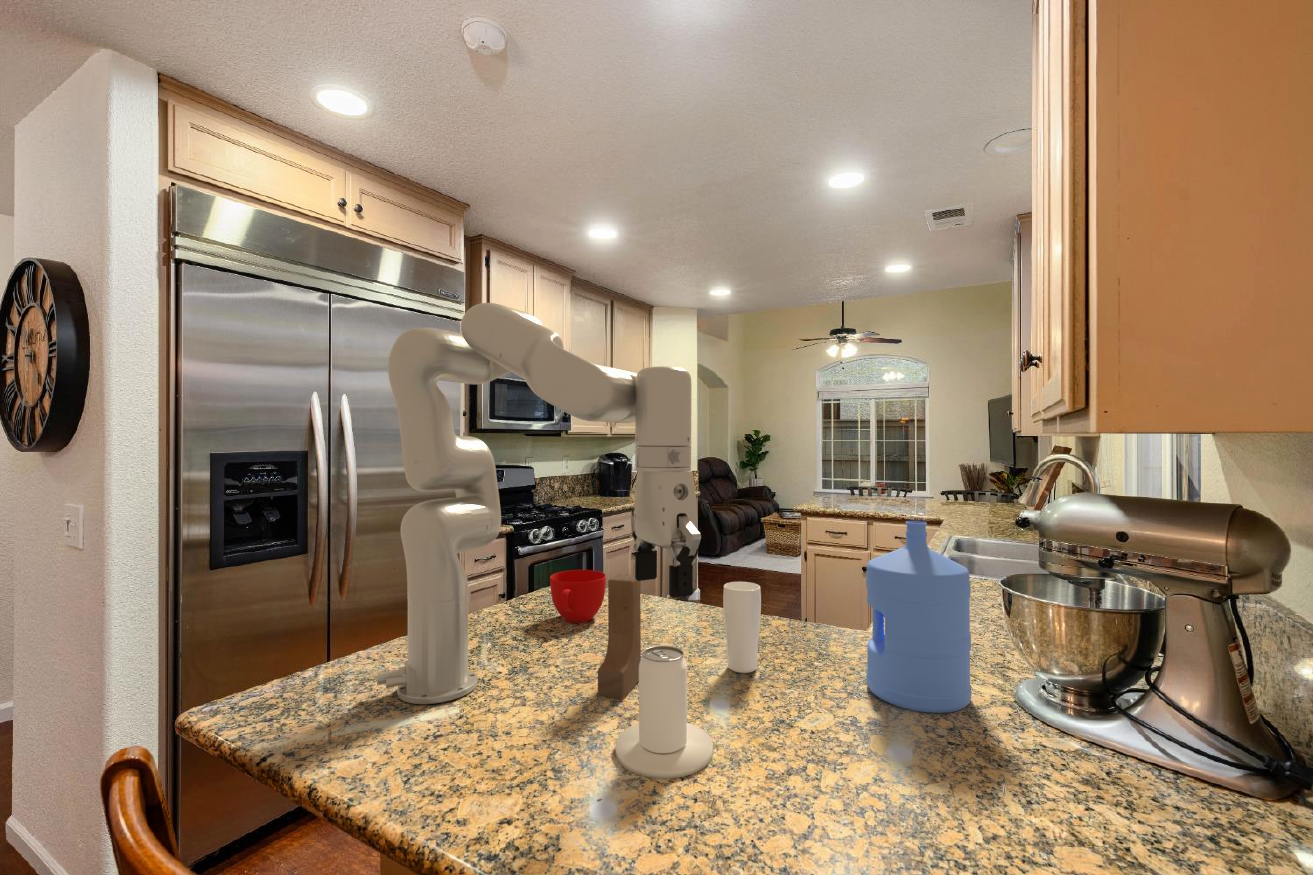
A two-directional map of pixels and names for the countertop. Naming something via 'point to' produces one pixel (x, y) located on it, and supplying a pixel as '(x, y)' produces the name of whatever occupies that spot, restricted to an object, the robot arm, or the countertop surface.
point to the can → (662, 700)
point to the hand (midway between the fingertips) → (662, 587)
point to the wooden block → (621, 638)
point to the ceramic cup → (578, 594)
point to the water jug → (919, 627)
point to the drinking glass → (742, 624)
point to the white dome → (667, 765)
